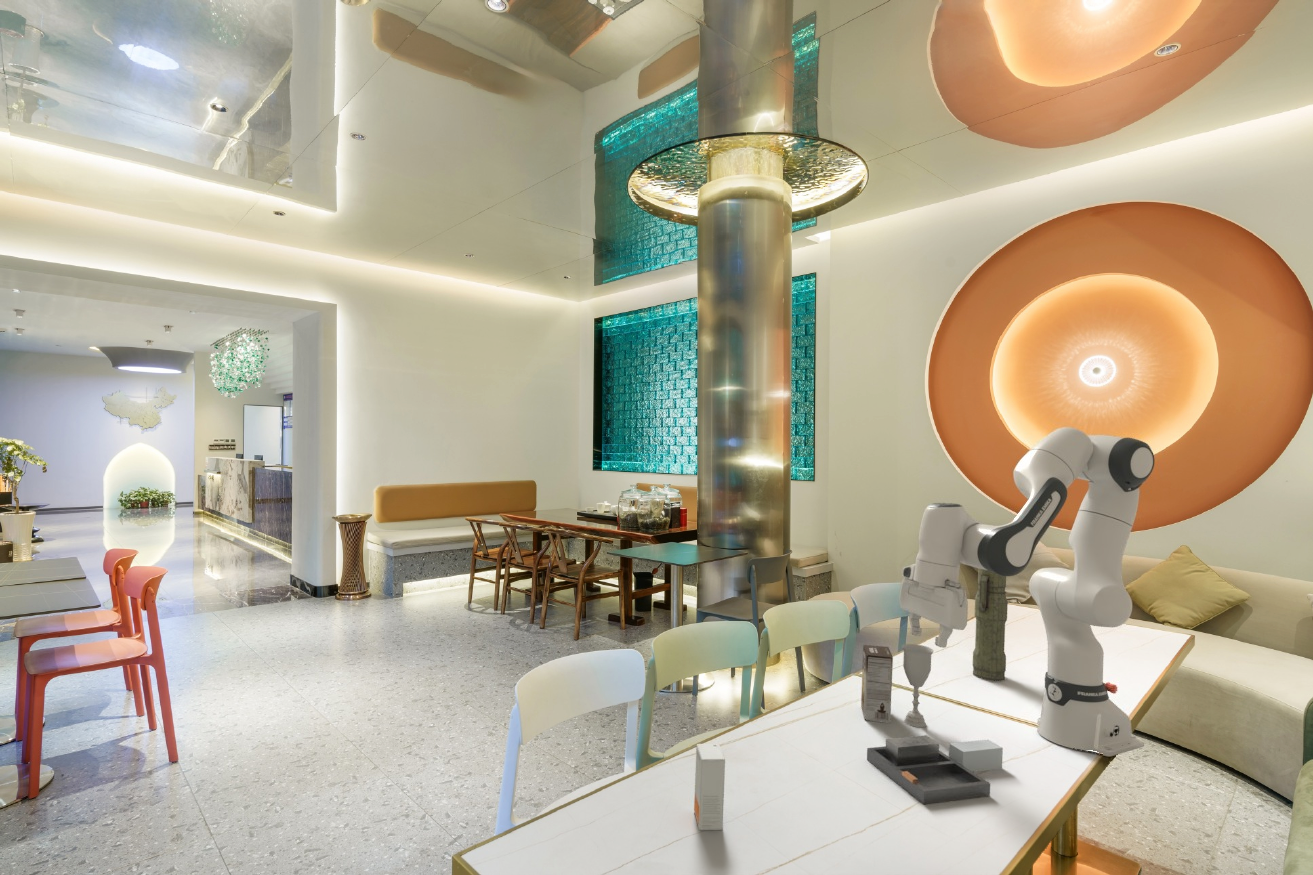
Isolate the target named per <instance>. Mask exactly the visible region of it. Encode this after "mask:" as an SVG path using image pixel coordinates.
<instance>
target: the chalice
mask: <svg viewBox="0 0 1313 875" xmlns="http://www.w3.org/2000/svg"><path fill="white" fill-rule="evenodd" d="M901 647H902V648H901V649H902V650H903V660H902V661H903V662H902V663H903V670H904V673H905V675H906V679H907V680H908V682H909V685H910V686H912V687H913V692H912V694H911V695H912V696H913V700H912V701H911V703H912V706H913V707H912V709H911V710H910V711H908V712H907V713H906V716H905V718H904V720H903V722H904V723H905V724H906V725H909V726H912V727H915V728H916V727H917V728H923V727H926V726H927V724H926V721H925V718H924V715H923V714H922V712H920V710H919V709H918V707H919V705H920V702H919V697H920V694H919V690H920V688H922V687H924V685H925V683H926V681H927V680H928V679H929V676H930V673H931V670H932V654H933V653H934V651H935V650H934V649H933V648H932V647H929V646H925V645H921V644H916V643H915V644H914V643H906V644H902V645H901Z"/></svg>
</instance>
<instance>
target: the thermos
mask: <svg viewBox="0 0 1313 875" xmlns="http://www.w3.org/2000/svg"><path fill="white" fill-rule="evenodd" d="M977 569H978V570H977V572H978V574H977V584H978V586H977V587H978V588H977V592H976V594H975V597H974V618H975V638H974V639H975V640H974V642H975V644H974V650H973V652H972V670H973V671H972V675H973V676H974V677H976V678H978V679H980V680H984V681H989V682H1004V681H1005V678H1006V676H1005V675H1006V671H1007V670H1006V668H1007V656H1006V652H1005V639H1006V638H1005V637H1006V635H1005V634H1006V622H1007V621H1008V604H1009V603H1008V599H1007V596H1006V593H1007V592H1006V587H1007V576H1002V575H999V574H996V573H993V572H991V571H988V570H984V569H980V568H977Z"/></svg>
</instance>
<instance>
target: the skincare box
mask: <svg viewBox="0 0 1313 875" xmlns="http://www.w3.org/2000/svg"><path fill="white" fill-rule="evenodd" d="M695 754H696V755H695V774H694V775H695V778H694V800H693V801H694V802H693V803H694V804H693V805H694V806H693V811H694V815H695V818H696V819H695V820H696V822H697V823H696V824H697V826H698V830H699V831H722V830H723V828H724V827H723V826H724V806H725V805H724V801H725V800H724V798H725V778H726V777H725V774H726V773H725V771H726V770H725V768H726V759H725V756H724V752H723V750H722V748H721V745H720V744H719V743H697V744H696V751H695Z"/></svg>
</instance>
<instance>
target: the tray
mask: <svg viewBox="0 0 1313 875" xmlns="http://www.w3.org/2000/svg"><path fill="white" fill-rule="evenodd" d="M866 748H867V749H866V760H867V761H868V762H869V763H871V764H872V765H873V766H874V767H875V768H877V769H878V770H879V771H881V772H882V773H883V774H884V775H886V776H887V777H888V778H889V779H891V780H892V781H893V782H894V783H896V784H897V785H898V786H900V787H901V788H902V789H903V790H905V791H906V792H907V793H908V794H910V796H912V797H914V798H915V799H916V800H917V801H918V802H920V803H921V804H922V805H928V804H929V805H930V804H931V805H932V804H937V803H938V804H939V803H946V802H954V801H960V800H963V801H964V800H969V799H970V800H971V799H977V798H978V799H979V798H986V797H990V796H991V783H990V782H989V781H987V780H986V779H984V778H982V777H981V776H980V775H978V774H976V773H975V772H972V771H970V770H969V769H967V768H966V767H964V766H963V765H961V764H960V763H958V762H957V761H955V760H953V759H952V758H950V757H949V755H947V754H945V753H944V752H943V751H941V749H940V743H939V742H938V741H937V740H935V739H933V738H931V737H930V736H928V735H927V734H925V735H917V736H915V735H914V736H905V737H904V736H903V737H893V738H885V746H875V747H866Z"/></svg>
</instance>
